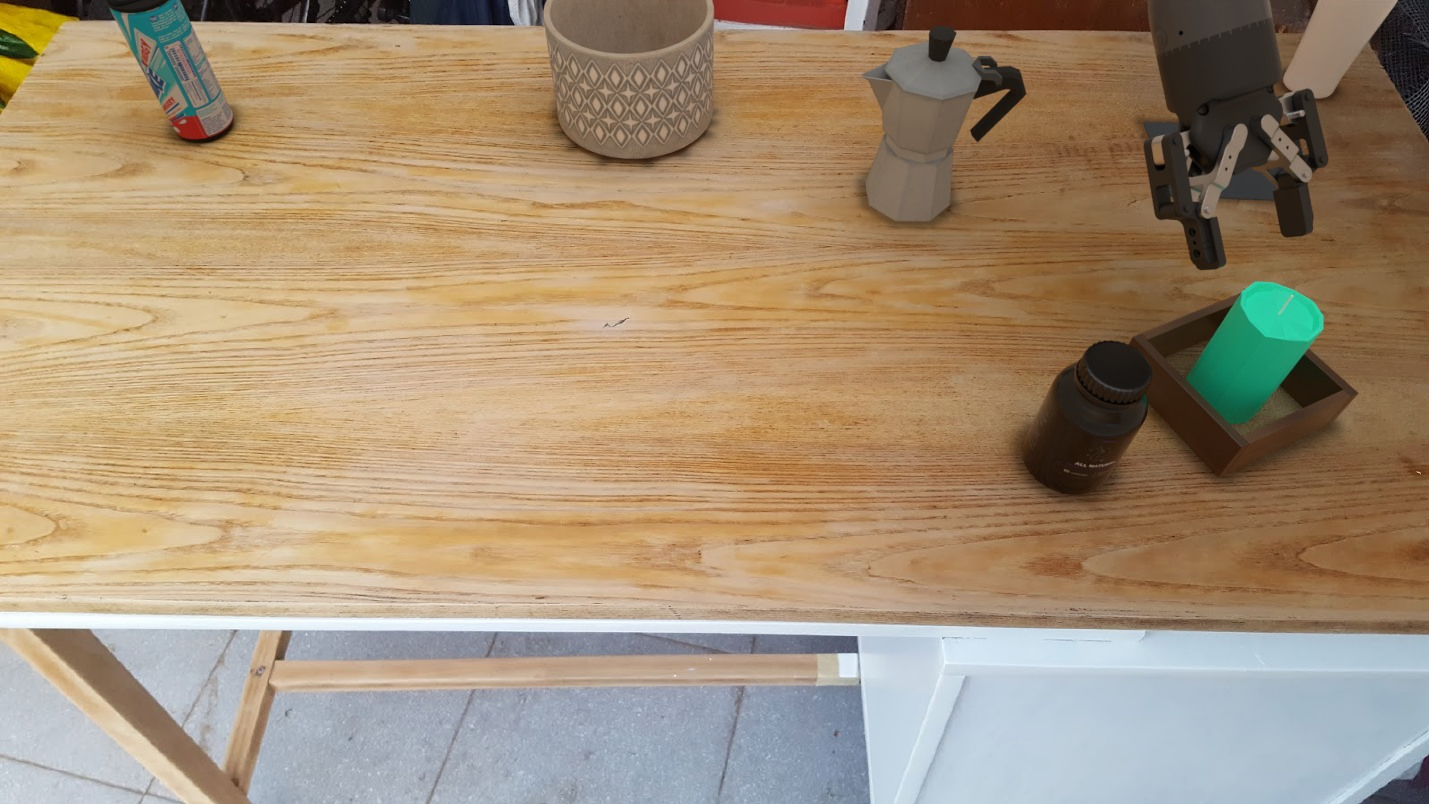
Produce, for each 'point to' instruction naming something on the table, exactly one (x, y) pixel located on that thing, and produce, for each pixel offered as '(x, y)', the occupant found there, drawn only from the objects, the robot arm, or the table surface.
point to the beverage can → (175, 66)
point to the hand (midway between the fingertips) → (1255, 251)
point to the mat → (1240, 185)
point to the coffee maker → (929, 121)
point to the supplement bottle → (1089, 418)
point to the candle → (1255, 349)
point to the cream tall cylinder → (1333, 43)
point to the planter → (632, 73)
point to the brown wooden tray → (1204, 425)
